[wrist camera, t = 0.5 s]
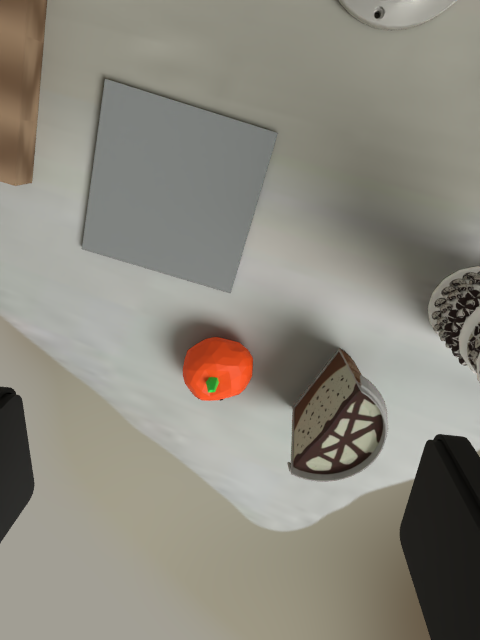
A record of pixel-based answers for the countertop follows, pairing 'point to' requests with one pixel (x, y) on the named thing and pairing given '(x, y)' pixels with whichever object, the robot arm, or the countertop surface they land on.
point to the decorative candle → (459, 315)
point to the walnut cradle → (20, 86)
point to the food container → (337, 423)
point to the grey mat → (174, 186)
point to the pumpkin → (217, 368)
